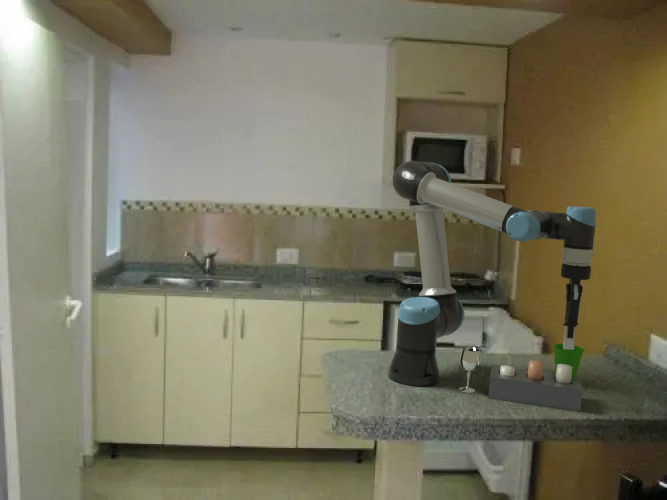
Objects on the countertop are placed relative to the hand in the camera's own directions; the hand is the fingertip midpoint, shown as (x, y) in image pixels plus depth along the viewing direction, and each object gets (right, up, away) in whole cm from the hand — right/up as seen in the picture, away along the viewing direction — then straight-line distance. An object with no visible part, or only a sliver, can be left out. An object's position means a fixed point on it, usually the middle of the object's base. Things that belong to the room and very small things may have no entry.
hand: (568, 348), depth 178 cm
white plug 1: (-16, -13, +6) cm, 21 cm away
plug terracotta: (-8, -11, +4) cm, 14 cm away
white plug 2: (-1, -12, +2) cm, 12 cm away
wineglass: (-26, -13, +7) cm, 30 cm away
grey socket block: (-9, -14, +4) cm, 17 cm away
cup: (+6, -14, +20) cm, 25 cm away
